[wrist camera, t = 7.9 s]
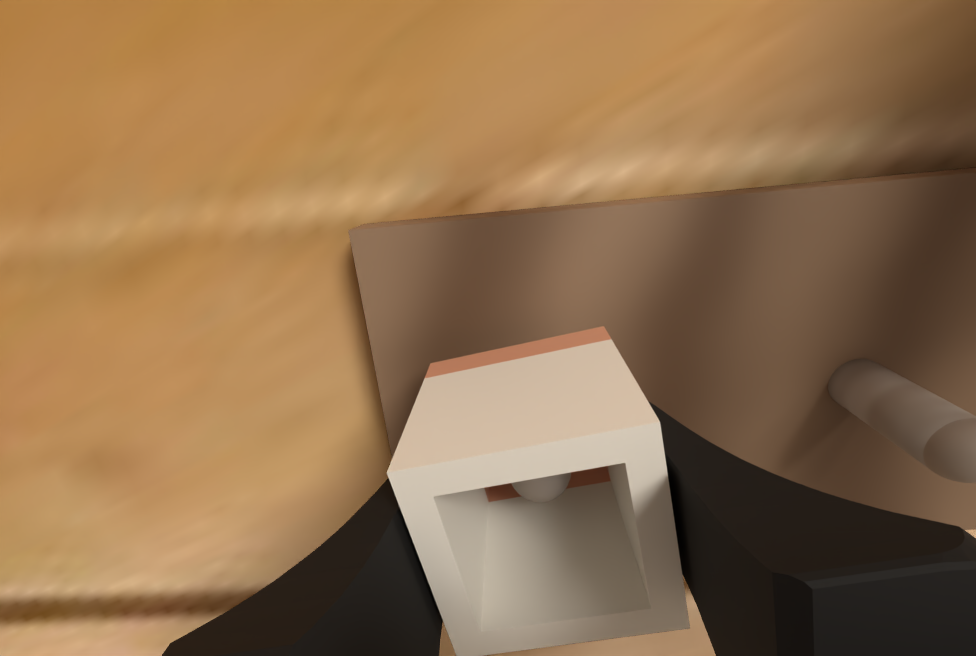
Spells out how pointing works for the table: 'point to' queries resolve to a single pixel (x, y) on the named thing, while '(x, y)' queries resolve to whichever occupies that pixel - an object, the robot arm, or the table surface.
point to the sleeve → (549, 525)
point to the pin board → (724, 321)
